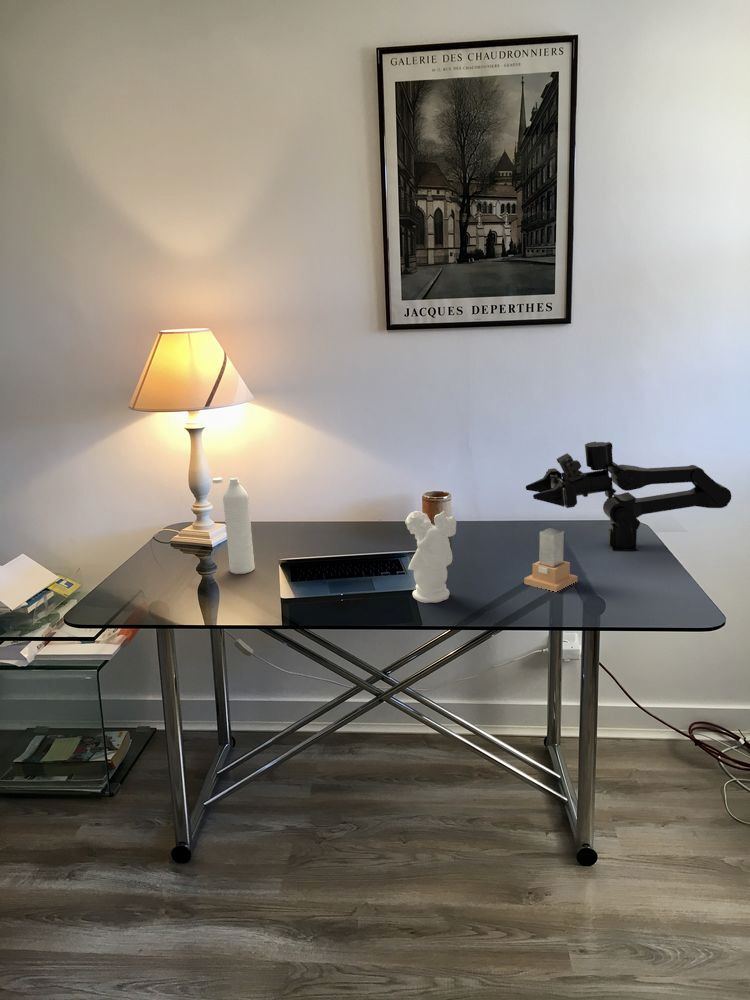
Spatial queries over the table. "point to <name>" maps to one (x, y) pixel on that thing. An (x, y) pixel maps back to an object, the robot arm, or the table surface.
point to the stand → (550, 577)
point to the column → (551, 547)
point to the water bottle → (238, 527)
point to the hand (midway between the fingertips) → (529, 492)
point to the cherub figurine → (431, 555)
